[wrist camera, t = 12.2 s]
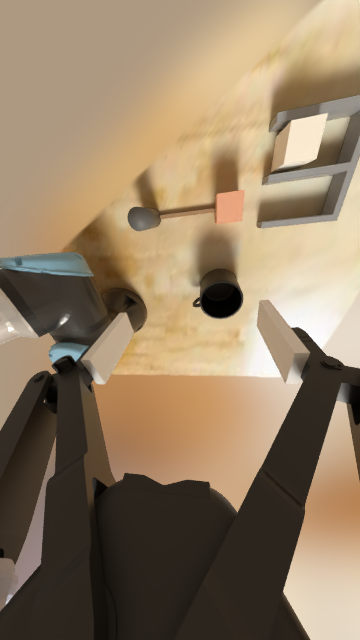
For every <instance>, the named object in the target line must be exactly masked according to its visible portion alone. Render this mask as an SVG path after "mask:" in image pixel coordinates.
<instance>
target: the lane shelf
mask: <svg viewBox="0 0 360 640" xmlns="http://www.w3.org/2000/svg"><path fill="white" fill-rule="evenodd" d="M326 113H328V115H327V119H326V121H328V120H333V119H338V118H343V117H348V116H351V120H350V123H349V126H348V130H347V133H346V136H345V139H344V143H343V146H342V149H341V152H340V156H339V159H338V162H337V164H336V165H329V166H323V167H317V168H310V169H304V170H297V171H291V172H285V173H278V174H272V175H268V176H267V177H265V178H263V182H262V185H268V184H275V183H282V182H289V181H295V180H302V179H309V178H316V177H323V176H329V175H333V178H332V182H331V185H330V188H329V191H328V195H327V198H326V201H325V204H324V208H323V211H322V214H321V215H313V216H304V217H295V218H286V219H277V220H268V221H259V222H257V227H258V228H269V227H279V226H288V225H298V224H307V223H317V222H326V221H335V220H337V219H338V216H339V213H340V210H341V207H342V205H343V202H344V199H345V196H346V193H347V190H348V188H349V185H350V182H351V179H352V176H353V174H354V171H355V168H356V165H357V162H358V160H359V157H360V95H357V96H352V97H347V98H343V99H338V100H333V101H329V102H324V103H320V104H315V105H310V106H306V107H301V108H296V109H292V110H287V111H283V112H278V113H277V115H276V116H275V117H274V119H273V120H272V122H271V123H270V129H269V132H273V131H278V130H283V129H284V128H285V127H286V126H287V125H288V124H289V123H290V121H291V120H296V119H301V118H306V117H311V116H316V115H321V114H326Z"/></svg>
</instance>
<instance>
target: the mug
mask: <svg viewBox="0 0 360 640" xmlns="http://www.w3.org/2000/svg"><path fill="white" fill-rule="evenodd" d="M198 301H200V303H199V304H196V303H197V302H198ZM242 303H243V293H242V291H241V289H240V286H239V284H238V282H237V280H236V278H235V276H234V275H233V274H232V273H231V272H230V271H228V270H225V269H215V270H212V271H210V272H209V273H207V274H206V275H205V276H204V278H203V279H202V282H201V287H200V297H199V298H197V299H196V300H195V301H194V302H193V307H201V309H202V310H203V312H204V313H205V314H206V315H208V316H210V317H212V318H215V319H224V318H228V317H231V316H232V315H234V314H235V313H237V312H238V311H239V309H240V308H241V306H242Z"/></svg>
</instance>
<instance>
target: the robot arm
mask: <svg viewBox="0 0 360 640" xmlns="http://www.w3.org/2000/svg"><path fill="white" fill-rule="evenodd" d="M0 268H2V269H0V344H3V343H5V342H7V341H9V340H12V339H14V338H16V337H19V336H26V337H32V338H38V337H41V336H43V335H45V334H47V333H50V335H51V336H52V337H53V339H54V340H55V342H56V344H54V345H53V346H51V349H50V350H49V358H50V359H51V361H52V362H53V365H52V367H53V369H54V370H55V371H56V372H57V373H55V374H52V375H51V374H50V373H49V372H48V371H42V372H39V373H37V374H36V375H34V376H33V377H32V378H31V379H30V380H29V382H28V383H27V385H26V387H25V389H24V391H23V392H22V394H21V395H20V397H19V399H18V401H17V403H16V404H15V406H14V408H13V410H12V411H11V413H10V415H9V417H8V418H7V420H6V422H5V424H4V425H3V427H2V429H1V431H0V640H310V638H309V637H308V635H307V633H306V631H305V630H304V628H303V626H302V625H301V623H300V621H299V619H298V617H297V616H296V614H295V612H294V610H293V609H292V607H291V605H290V603H289V602H288V600H287V598H286V596H285V595H284V593H283V589H284V586H285V582H286V579H287V575H288V572H289V569H290V565H291V562H292V558H293V555H294V551H295V548H296V545H297V541H298V537H299V534H300V530H301V527H302V523H303V519H304V515H305V503H306V499H307V496H308V492H309V489H310V486H311V482H312V479H313V475H314V472H315V469H316V466H317V462H318V459H319V455H320V452H321V449H322V446H323V443H324V439H325V436H326V433H327V429H328V426H329V422H330V419H331V416H332V413H333V409H334V406H335V403H336V400H337V401H341V402H345V403H346V404H347V409H348V415H349V421H350V427H351V433H352V439H353V445H354V451H355V456H356V462H357V468H358V474H359V480H360V369H359V368H354V367H348V366H344V365H343V363H342V362H340V361H339V360H337V359H335V358H333V357H330V356H327V355H326V354H325V353H324V352H323V351H322V350H321V349H320V348H319V346H318V345H317V344H316V343H315V342H314V341H313V340H312V338H311V337H310V336H309V335H308V334H307V333H306V332H305V331H304V330H302V329H300V328H299V327H296V328H290V326H289V325H288V324H287V323H286V321H285V320H284V319H283V317H282V316H281V315H280V314H279V312H278V311H277V310H276V308H275V307H274V306H273V305H272V303H271V302H270V301H269V300H261V301H260V302H259V310H258V319H257V327H258V329H259V331H260V333H261V335H262V337H263V339H264V341H265V343H266V345H267V347H268V349H269V351H270V353H271V355H272V357H273V359H274V361H275V363H276V365H277V367H278V369H279V371H280V373H281V375H282V377H283V379H284V382H285V383H286V384H299V382H300V379H302V380H303V383H302V385H301V387H300V389H299V391H298V393H297V396H296V397H295V399H294V401H293V403H292V405H291V408H290V410H289V412H288V414H287V416H286V418H285V420H284V422H283V424H282V426H281V428H280V430H279V432H278V434H277V436H276V438H275V440H274V442H273V444H272V446H271V448H270V451H269V452H268V455H267V457H266V459H265V461H264V463H263V465H262V467H261V468H260V469H259V471H258V473H257V475H256V477H255V479H254V481H253V483H252V485H251V487H250V489H249V491H248V493H247V495H246V497H245V499H244V501H243V503H242V505H241V507H240V509H239V511H238V513H237V511H236V510H235V509H234V507H233V506H232V505H231V503H230V502H229V501H228V500H227V499H226V498H225V497H224V496H223V495H222V494H220V493H219V492H217V491H216V490H214V489H212V488H210V484H209V482H203V481H194V480H184V481H180V482H177V483H172V484H168V485H162V484H160V483H158V482H156V481H154V480H152V479H150V478H148V477H147V476H145V475H139V474H129V473H125V474H124V477H123V480H120V481H118V482H116V481H115V479H114V477H113V475H112V472H111V469H110V465H109V461H108V455H107V451H106V446H105V441H104V437H103V432H102V427H101V422H100V417H99V413H98V408H97V403H96V399H95V393H94V389H93V385H92V384H91V383H92V381H93V380H95V382H96V383H97V384H106V382H107V380H108V379H109V377H110V375H111V373H112V372H113V370H114V368H115V366H116V365H117V363H118V361H119V359H120V358H121V356H122V354H123V352H124V350H125V349H126V347H127V345H128V343H129V342H130V340H131V338H132V336H133V335H134V333H135V332H137V331H138V330H140V329H141V328H142V327H143V325H144V323H145V322H146V319H147V310H146V307H145V305H144V303H143V302H142V300H141V299H140V298H139V297H138V296H137V295H136V294H134V293H133V292H131V291H128V290H126V289H121V288H114V289H111V290H108V291H107V292H106V293H104V294H103V295H102V294H101V292H100V290H99V287H98V285H97V283H96V280H95V278H94V274H93V273H92V272H91V270H90V268H89V266H88V264H87V262H86V260H85V258H84V257H83V256H82V255H80V254H78V253H76V252H61V253H49V254H38V255H37V254H36V255H25V256H17V257H6V258H0ZM44 400H45V403H44ZM55 437H56V463H55V474H54V476H53V477H51V478H50V479H49V481H48V482H47V486H46V497H45V512H44V527H43V542H42V557H41V565H40V566H39V567H38V568H37V569H36V570H35V571H34V573H33V574H32V575H31V576H30V577H29V579H28V580H27V581H26V582H25V583H24V584H23V585H22V587H21V588H20V589H19V590H18V591H17V592H16V594H15V595H14V596H13V594H14V592H15V590H16V588H17V583H18V576H17V575H14V572H15V564H16V562H17V560H18V557H19V555H20V552H21V549H22V547H23V544H24V542H25V539H26V536H27V533H28V530H29V527H30V524H31V521H32V517H33V514H34V510H35V507H36V503H37V500H38V496H39V493H40V489H41V486H42V482H43V479H44V475H45V472H46V468H47V465H48V461H49V458H50V454H51V451H52V447H53V443H54V440H55ZM12 596H13V597H12Z"/></svg>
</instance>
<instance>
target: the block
mask: <svg viewBox="0 0 360 640" xmlns="http://www.w3.org/2000/svg"><path fill="white" fill-rule="evenodd" d="M327 115H328V113H326V114H321V115H316V116H311V117H306V118H301V119H296V120H291V121H290V123H289V124H288V125H287V126H286V127H285V128H284V129H283V130H282V131H281V132H280V133H279V135H278V136H277V137H276V141H275V148H274V154H273V161H272V168H271V172H276V171H282V170H288V169H295V168H299V167H301V166H303V165H305V164H307V163H309V162H311V161H313V160H315V159H317V155H318V151H319V147H320V143H321V139H322V135H323V131H324V127H325V123H326V119H327Z"/></svg>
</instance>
